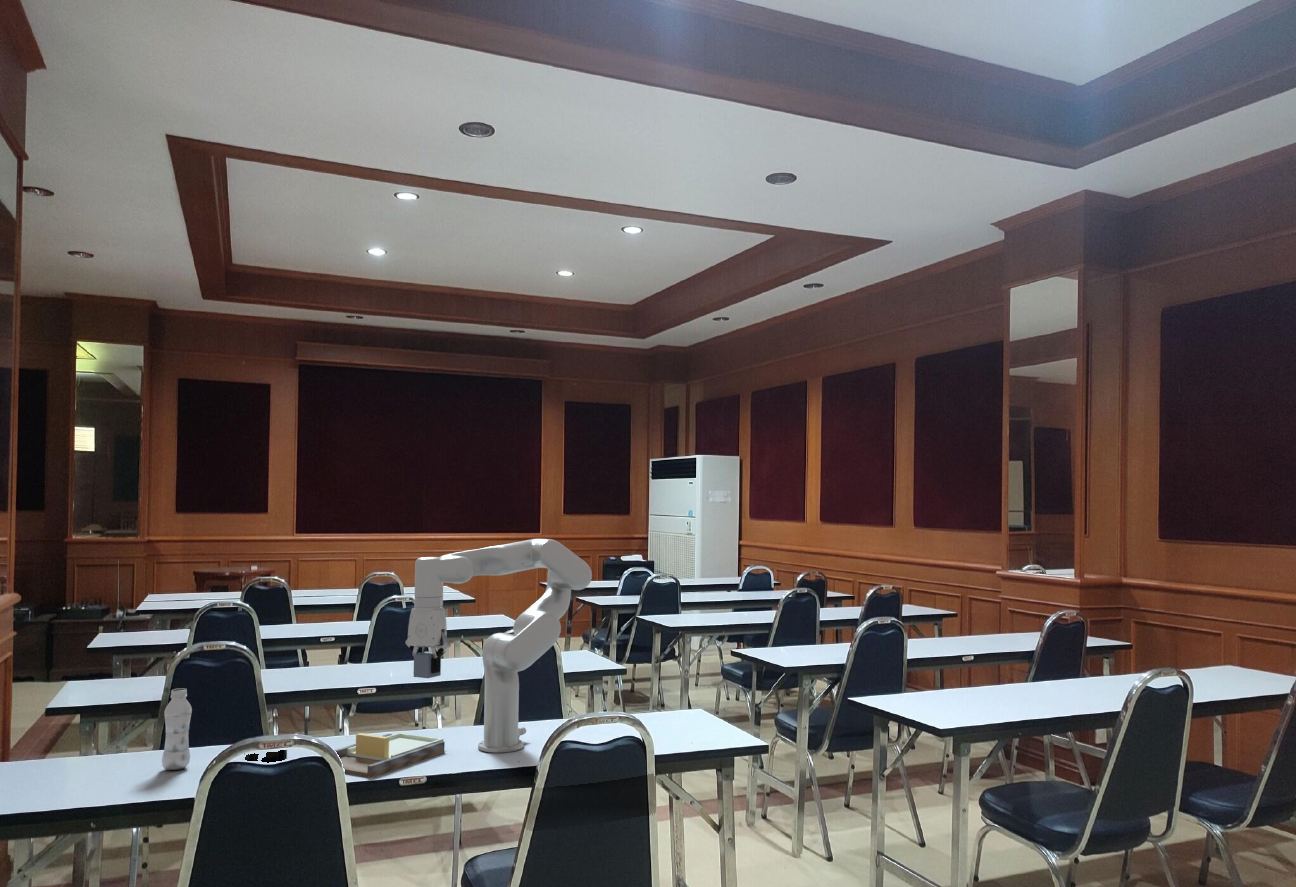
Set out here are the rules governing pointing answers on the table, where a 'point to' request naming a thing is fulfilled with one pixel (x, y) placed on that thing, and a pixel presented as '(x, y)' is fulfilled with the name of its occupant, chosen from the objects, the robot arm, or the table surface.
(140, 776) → the table surface
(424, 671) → the slate block
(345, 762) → the guide base
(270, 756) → the end cap
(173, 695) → the plastic bottle
